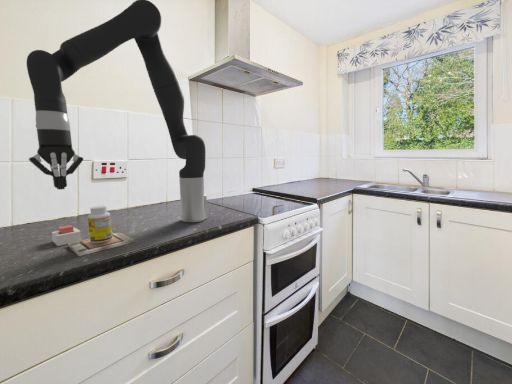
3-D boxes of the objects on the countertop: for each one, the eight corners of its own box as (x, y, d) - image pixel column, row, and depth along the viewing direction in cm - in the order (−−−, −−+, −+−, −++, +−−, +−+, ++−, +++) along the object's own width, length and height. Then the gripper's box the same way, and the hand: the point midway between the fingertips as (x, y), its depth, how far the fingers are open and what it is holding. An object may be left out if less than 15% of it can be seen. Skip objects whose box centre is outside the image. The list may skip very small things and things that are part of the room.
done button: (71, 232, 79) (70, 224, 78) (73, 234, 77) (72, 226, 76) (59, 235, 76) (58, 227, 76) (61, 237, 74) (60, 228, 74)
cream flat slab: (119, 234, 83) (119, 231, 83) (134, 242, 76) (133, 239, 76) (68, 246, 72) (67, 243, 72) (79, 256, 65) (78, 252, 65)
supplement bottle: (90, 239, 75) (87, 206, 74) (112, 236, 78) (109, 204, 76) (89, 245, 70) (86, 209, 69) (112, 242, 73) (109, 207, 72)
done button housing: (76, 236, 81) (75, 227, 81) (81, 240, 77) (80, 231, 77) (52, 241, 77) (51, 232, 76) (57, 246, 73) (56, 236, 72)
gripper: (24, 126, 64) (33, 192, 67) (84, 129, 74) (90, 187, 77) (20, 128, 69) (29, 190, 72) (77, 131, 79) (83, 186, 82)
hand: (61, 189), depth 74 cm, fingers closed
